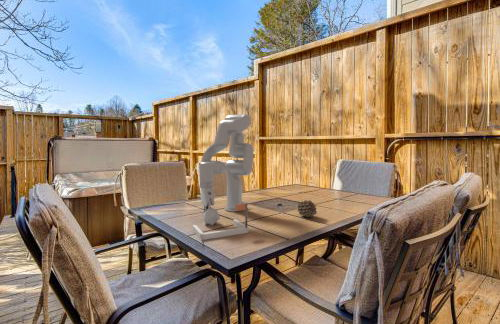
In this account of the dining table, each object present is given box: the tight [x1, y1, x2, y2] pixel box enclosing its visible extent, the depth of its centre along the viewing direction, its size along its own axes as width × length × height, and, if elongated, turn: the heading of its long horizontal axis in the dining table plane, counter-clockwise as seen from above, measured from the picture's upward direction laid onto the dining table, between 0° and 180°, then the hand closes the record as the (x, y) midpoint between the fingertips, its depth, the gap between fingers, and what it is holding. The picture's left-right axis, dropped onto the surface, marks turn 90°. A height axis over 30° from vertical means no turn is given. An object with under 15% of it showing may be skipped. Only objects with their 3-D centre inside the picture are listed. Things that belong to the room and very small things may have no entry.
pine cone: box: [293, 199, 318, 218], centre depth 163 cm, size 22×10×10 cm, turn 26°
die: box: [201, 207, 221, 226], centre depth 148 cm, size 8×9×10 cm
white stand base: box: [192, 202, 249, 241], centre depth 135 cm, size 23×16×14 cm
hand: (207, 217), depth 154 cm, fingers closed
